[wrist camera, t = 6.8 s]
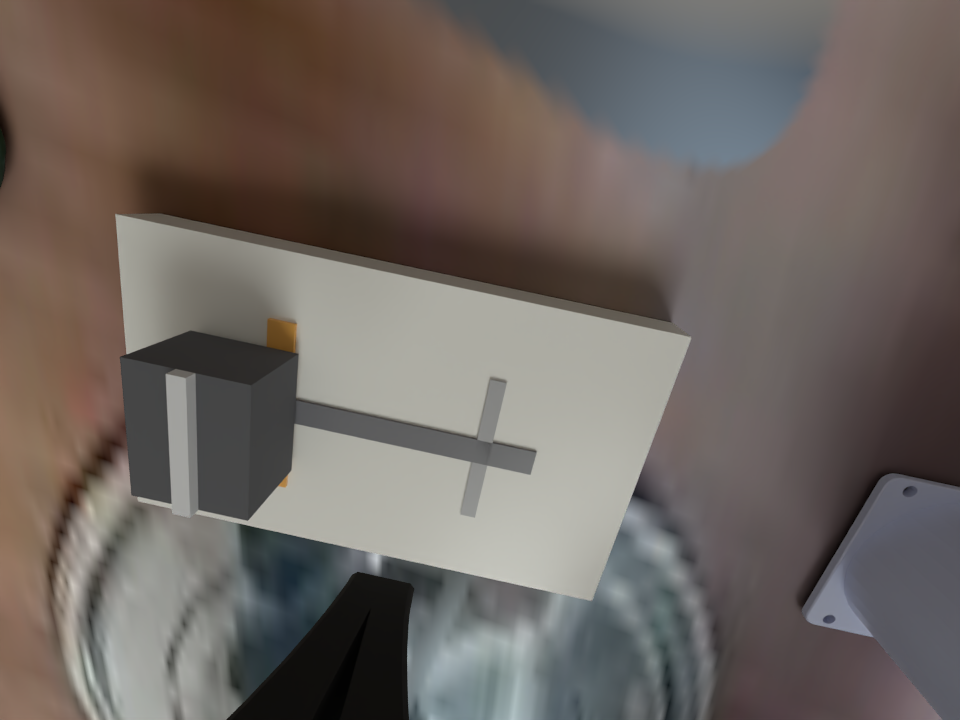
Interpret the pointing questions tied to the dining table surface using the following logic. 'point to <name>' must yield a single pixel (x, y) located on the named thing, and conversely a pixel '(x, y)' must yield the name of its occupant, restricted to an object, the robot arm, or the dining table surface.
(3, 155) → the coffee jar
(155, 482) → the block
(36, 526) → the dining table surface
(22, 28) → the dining table surface
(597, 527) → the control panel
